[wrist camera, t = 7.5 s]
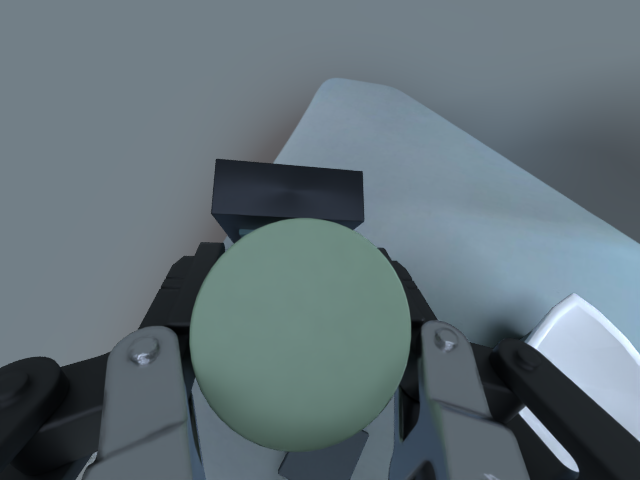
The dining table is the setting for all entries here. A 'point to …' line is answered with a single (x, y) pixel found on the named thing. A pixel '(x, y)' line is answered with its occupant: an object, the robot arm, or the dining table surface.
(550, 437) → the bowl
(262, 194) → the navy chair block
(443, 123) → the dining table surface
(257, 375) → the green cylinder
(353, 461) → the coaster
